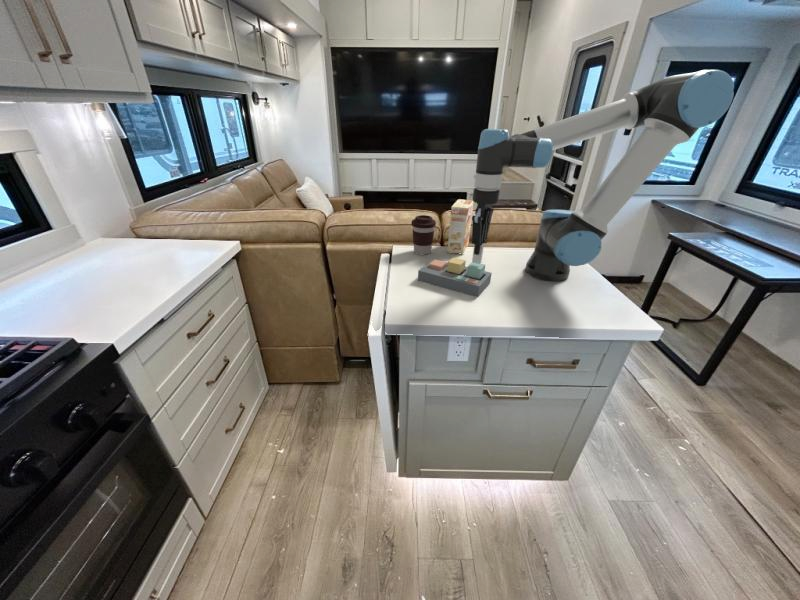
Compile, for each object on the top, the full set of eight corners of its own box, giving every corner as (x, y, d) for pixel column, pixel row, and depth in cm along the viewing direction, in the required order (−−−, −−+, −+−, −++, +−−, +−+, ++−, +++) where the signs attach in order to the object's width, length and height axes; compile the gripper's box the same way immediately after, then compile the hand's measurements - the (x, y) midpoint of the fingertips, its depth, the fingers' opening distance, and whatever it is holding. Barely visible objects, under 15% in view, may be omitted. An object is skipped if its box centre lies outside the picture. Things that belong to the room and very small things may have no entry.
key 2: (484, 274, 110) (485, 264, 108) (479, 279, 106) (480, 269, 104) (471, 271, 112) (472, 261, 110) (466, 275, 108) (467, 266, 107)
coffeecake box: (463, 255, 135) (468, 208, 126) (446, 252, 138) (450, 206, 128) (469, 243, 148) (474, 200, 138) (453, 241, 150) (457, 198, 140)
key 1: (446, 271, 117) (446, 262, 115) (440, 275, 114) (441, 266, 112) (434, 268, 119) (435, 259, 118) (428, 272, 116) (429, 263, 114)
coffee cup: (412, 247, 143) (412, 213, 135) (434, 248, 142) (436, 214, 134) (409, 255, 134) (410, 220, 127) (433, 257, 133) (435, 221, 126)
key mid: (464, 269, 113) (465, 260, 111) (459, 274, 109) (460, 264, 108) (452, 266, 115) (453, 257, 113) (447, 271, 112) (447, 261, 110)
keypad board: (490, 283, 113) (491, 271, 111) (477, 297, 104) (479, 285, 102) (433, 268, 123) (434, 258, 121) (417, 280, 114) (418, 269, 112)
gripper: (482, 183, 101) (473, 253, 113) (466, 190, 92) (458, 266, 104) (505, 186, 98) (493, 258, 110) (492, 193, 88) (480, 272, 100)
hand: (476, 262), depth 107 cm, fingers closed
